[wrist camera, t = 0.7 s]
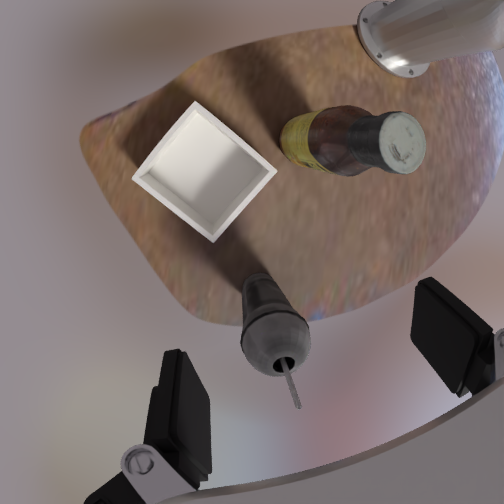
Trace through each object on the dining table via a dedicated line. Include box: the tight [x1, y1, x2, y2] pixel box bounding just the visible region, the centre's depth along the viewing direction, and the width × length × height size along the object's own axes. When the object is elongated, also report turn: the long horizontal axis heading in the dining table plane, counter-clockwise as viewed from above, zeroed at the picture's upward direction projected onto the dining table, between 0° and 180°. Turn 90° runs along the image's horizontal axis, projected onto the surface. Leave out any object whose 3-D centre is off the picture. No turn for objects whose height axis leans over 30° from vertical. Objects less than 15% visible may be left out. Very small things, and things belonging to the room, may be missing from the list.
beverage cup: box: [240, 273, 311, 409], centre depth 31 cm, size 7×7×20 cm
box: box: [132, 101, 277, 243], centre depth 31 cm, size 10×11×5 cm
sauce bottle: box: [279, 105, 426, 176], centre depth 24 cm, size 7×6×20 cm
